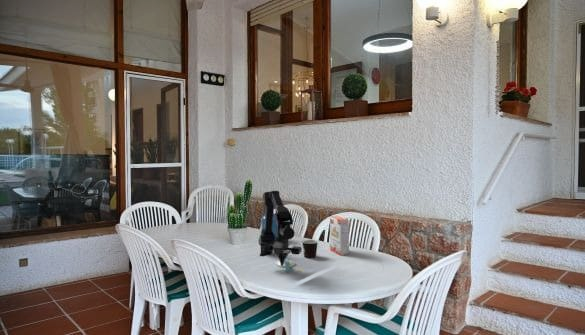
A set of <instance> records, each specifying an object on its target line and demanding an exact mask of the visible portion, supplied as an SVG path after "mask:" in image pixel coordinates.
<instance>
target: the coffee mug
mask: <svg viewBox="0 0 585 335" xmlns="http://www.w3.org/2000/svg"><path fill="white" fill-rule="evenodd" d="M318 243H319V242H318V240H315V239H304V240H303V241H302V250H303V257H304V258H305V259H316V257H317V250H318Z"/></svg>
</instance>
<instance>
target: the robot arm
mask: <svg viewBox="0 0 585 335" xmlns="http://www.w3.org/2000/svg"><path fill="white" fill-rule="evenodd" d="M262 201H263V202H264V206H265V212H264V213H265V214H264V215H265V222H264V228H263V230H262V231H260V235H259V237H258V244H259V246H260V253H259V256H262V257H263V256H264V257H265V256H269V255H273V254H274V255H277V257H278V259H279V260H278V261H280V263H281V266H283V264H284V261H285V259H287V257H288V255H289V254H292V255H298V256H299V255H300V254H301V253H302V250H303V247H301V246H297V245H293V246H292V247H289V246H290V244H289V240H291V239H293V238H294V237H295V235H296V234H295V230H294V229H293V228H292V227H291V225H293V224H294V219H293V215H292V213H291V212H290V210H289V208H288V207H286V206H285V205H284V203H283V200H282V198H281V196H280V191H279V190H270V191H265V192H263V193H262ZM273 210H274V214H275V220H276V223H277V238H276V242H275V235H274V233H273V231H272V221H273Z"/></svg>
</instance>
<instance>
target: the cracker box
mask: <svg viewBox="0 0 585 335" xmlns="http://www.w3.org/2000/svg"><path fill="white" fill-rule="evenodd" d="M349 221H350V220H349V219H346V218H344V217H341V216H338V215H335V216H334V215H333V216H329V232H330V233H329V243H330V244H329V248H330V251H332V252H334V253H336V254H338V255H339V256H347V255H350V242H349V241H350V237H349V236H350V231H349V230H350V228H349V227H350V226H349V225H350V222H349Z"/></svg>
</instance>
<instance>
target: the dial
mask: <svg viewBox="0 0 585 335" xmlns="http://www.w3.org/2000/svg"><path fill="white" fill-rule="evenodd" d="M275 266H277V267H278V268H284V270H285V272H290V271H291V268H293V267H295V266H296V262H295V261H294V260H290V259H289V258H286V259H285V261H284V264H283V266H281V263H280V260H277V261H276V263H275Z"/></svg>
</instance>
